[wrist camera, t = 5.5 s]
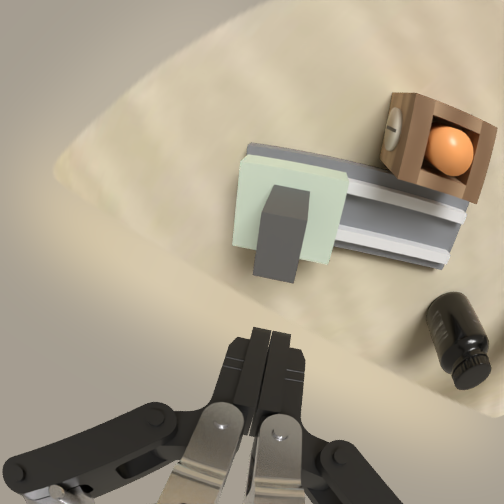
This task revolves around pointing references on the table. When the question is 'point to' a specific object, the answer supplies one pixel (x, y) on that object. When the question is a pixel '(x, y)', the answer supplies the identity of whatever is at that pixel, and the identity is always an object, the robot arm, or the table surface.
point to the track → (386, 211)
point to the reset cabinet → (416, 137)
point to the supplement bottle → (459, 340)
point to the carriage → (287, 213)
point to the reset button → (448, 149)
